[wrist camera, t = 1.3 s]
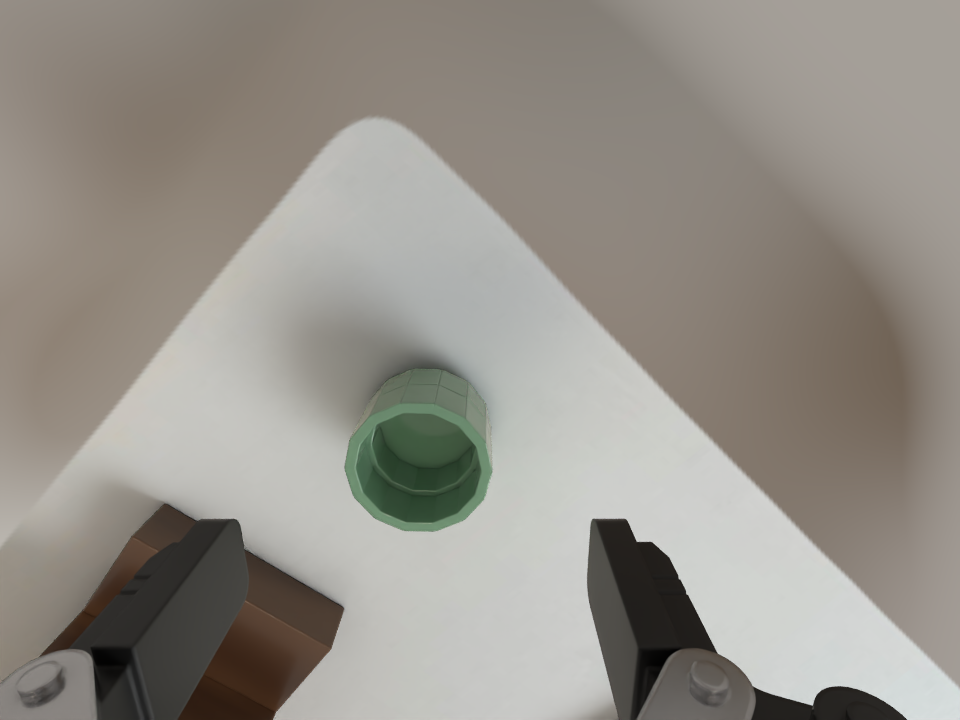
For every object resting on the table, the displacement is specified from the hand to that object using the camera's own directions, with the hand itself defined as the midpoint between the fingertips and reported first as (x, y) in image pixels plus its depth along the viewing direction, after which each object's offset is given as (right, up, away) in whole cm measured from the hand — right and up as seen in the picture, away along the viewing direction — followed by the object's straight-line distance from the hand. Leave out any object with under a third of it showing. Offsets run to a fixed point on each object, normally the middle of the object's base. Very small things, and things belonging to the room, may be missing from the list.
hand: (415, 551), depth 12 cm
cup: (-1, +1, +16) cm, 16 cm away
